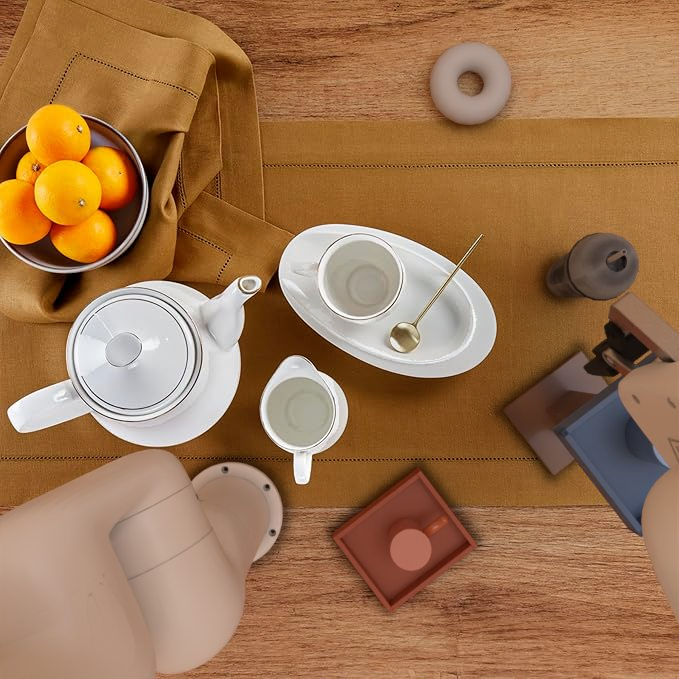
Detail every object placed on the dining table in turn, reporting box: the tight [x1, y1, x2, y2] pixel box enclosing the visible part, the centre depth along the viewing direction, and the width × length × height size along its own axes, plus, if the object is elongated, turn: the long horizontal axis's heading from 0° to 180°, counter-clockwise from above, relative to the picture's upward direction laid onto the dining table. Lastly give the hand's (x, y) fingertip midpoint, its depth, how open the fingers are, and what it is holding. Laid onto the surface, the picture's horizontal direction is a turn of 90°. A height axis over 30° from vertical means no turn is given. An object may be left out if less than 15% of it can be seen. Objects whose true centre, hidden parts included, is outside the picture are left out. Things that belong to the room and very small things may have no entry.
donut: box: [429, 41, 513, 126], centre depth 79 cm, size 10×4×10 cm
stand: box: [501, 350, 610, 477], centre depth 69 cm, size 12×10×22 cm
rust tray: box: [332, 466, 479, 614], centre depth 78 cm, size 13×11×2 cm
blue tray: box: [552, 352, 670, 538], centre depth 57 cm, size 13×11×2 cm
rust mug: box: [387, 515, 448, 571], centre depth 77 cm, size 8×5×5 cm, turn 127°
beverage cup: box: [545, 232, 640, 302], centre depth 70 cm, size 7×7×20 cm
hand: (650, 416), depth 42 cm, fingers open, 9 cm apart
